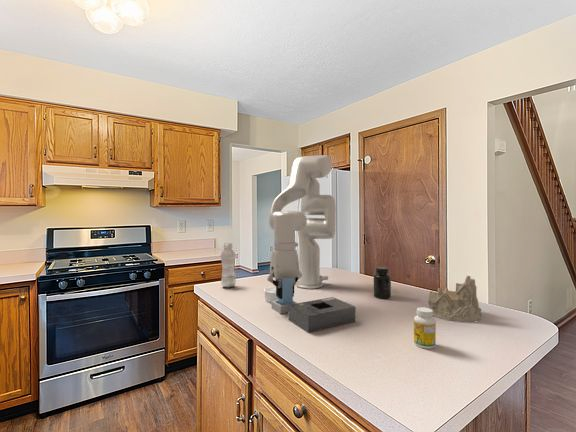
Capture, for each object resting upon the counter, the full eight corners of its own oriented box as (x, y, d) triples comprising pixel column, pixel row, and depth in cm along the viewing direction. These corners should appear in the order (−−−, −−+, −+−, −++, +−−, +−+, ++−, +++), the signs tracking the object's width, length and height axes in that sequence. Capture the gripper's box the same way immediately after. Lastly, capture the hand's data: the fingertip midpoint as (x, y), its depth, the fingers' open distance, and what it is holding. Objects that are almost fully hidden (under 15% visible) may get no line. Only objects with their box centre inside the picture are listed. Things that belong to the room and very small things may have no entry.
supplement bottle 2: (439, 349, 82) (439, 313, 82) (418, 349, 82) (418, 313, 82) (429, 340, 87) (430, 306, 87) (410, 340, 88) (410, 306, 87)
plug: (287, 304, 117) (287, 271, 117) (292, 307, 114) (292, 274, 113) (277, 306, 116) (277, 273, 115) (283, 309, 112) (282, 275, 111)
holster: (288, 304, 119) (288, 298, 119) (298, 310, 113) (298, 303, 113) (271, 307, 116) (271, 301, 116) (280, 313, 109) (280, 306, 109)
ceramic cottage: (486, 313, 109) (484, 270, 109) (473, 328, 98) (470, 280, 97) (439, 306, 120) (437, 266, 120) (422, 318, 109) (419, 275, 108)
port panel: (332, 310, 112) (332, 296, 112) (355, 321, 102) (355, 305, 101) (288, 319, 103) (288, 303, 103) (308, 332, 93) (308, 315, 93)
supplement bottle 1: (388, 294, 132) (389, 266, 132) (392, 299, 125) (392, 269, 125) (372, 294, 133) (372, 266, 132) (374, 299, 126) (375, 269, 126)
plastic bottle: (234, 288, 142) (234, 244, 141) (219, 288, 142) (219, 244, 142) (237, 285, 148) (236, 243, 148) (222, 285, 149) (222, 243, 148)
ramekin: (283, 304, 120) (283, 293, 120) (261, 302, 122) (261, 291, 122) (288, 297, 129) (288, 287, 129) (267, 296, 131) (267, 285, 131)
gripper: (299, 243, 121) (299, 291, 122) (259, 247, 113) (259, 297, 114) (310, 246, 114) (310, 296, 115) (268, 250, 106) (268, 303, 107)
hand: (285, 296), depth 115 cm, fingers closed on plug, 4 cm apart
